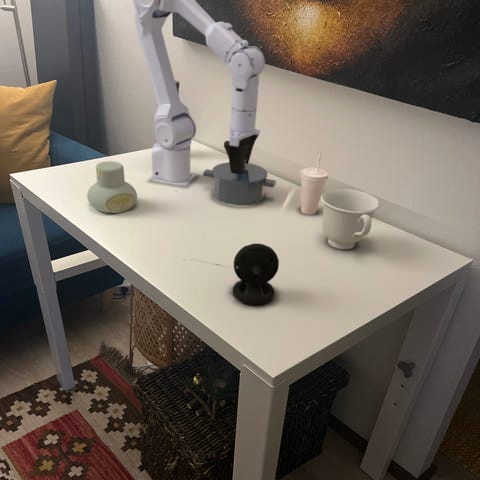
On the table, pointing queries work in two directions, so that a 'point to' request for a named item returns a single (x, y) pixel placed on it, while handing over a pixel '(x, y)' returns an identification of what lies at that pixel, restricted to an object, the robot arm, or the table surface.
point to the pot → (238, 190)
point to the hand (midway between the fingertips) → (239, 168)
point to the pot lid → (247, 175)
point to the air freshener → (111, 189)
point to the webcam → (255, 273)
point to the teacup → (347, 216)
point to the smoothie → (312, 187)
